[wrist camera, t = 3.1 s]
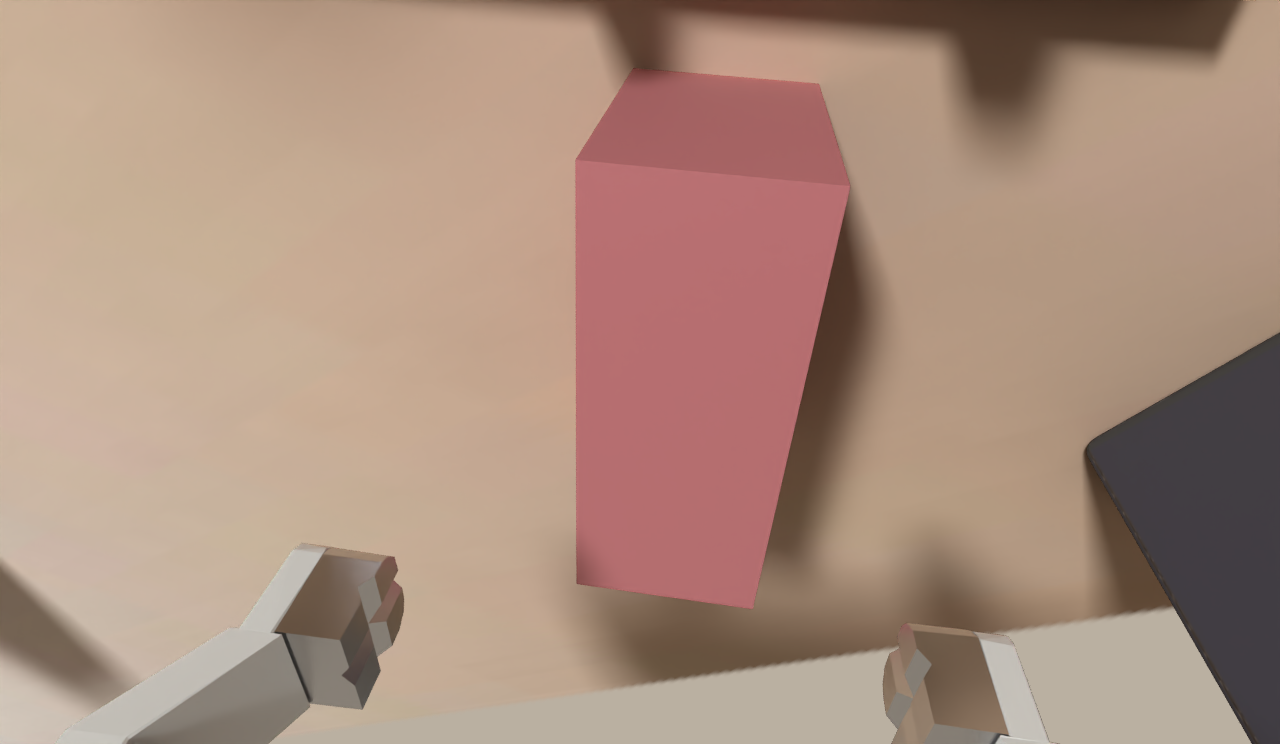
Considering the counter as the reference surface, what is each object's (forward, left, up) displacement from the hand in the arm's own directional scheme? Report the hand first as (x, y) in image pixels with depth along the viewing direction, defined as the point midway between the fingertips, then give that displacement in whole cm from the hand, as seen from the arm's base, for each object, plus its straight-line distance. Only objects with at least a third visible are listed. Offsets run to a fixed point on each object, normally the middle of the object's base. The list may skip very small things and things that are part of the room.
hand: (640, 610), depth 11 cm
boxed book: (0, 0, -11) cm, 11 cm away
